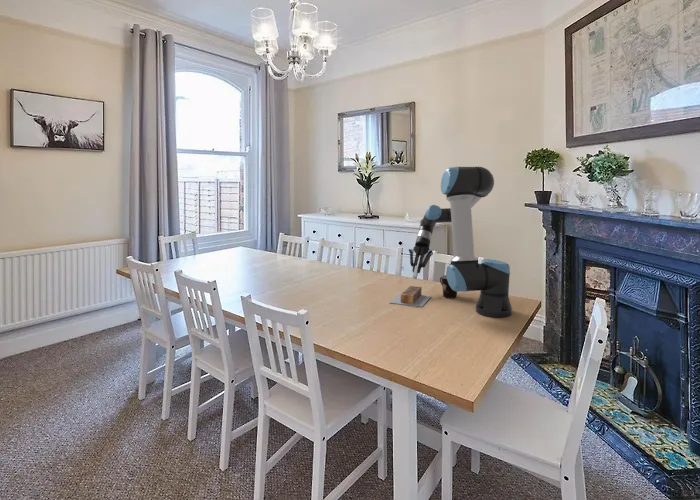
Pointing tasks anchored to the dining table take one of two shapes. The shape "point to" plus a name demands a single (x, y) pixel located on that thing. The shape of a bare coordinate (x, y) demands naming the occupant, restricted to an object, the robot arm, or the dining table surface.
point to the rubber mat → (417, 303)
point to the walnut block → (411, 294)
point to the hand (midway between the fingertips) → (414, 277)
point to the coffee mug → (447, 288)
